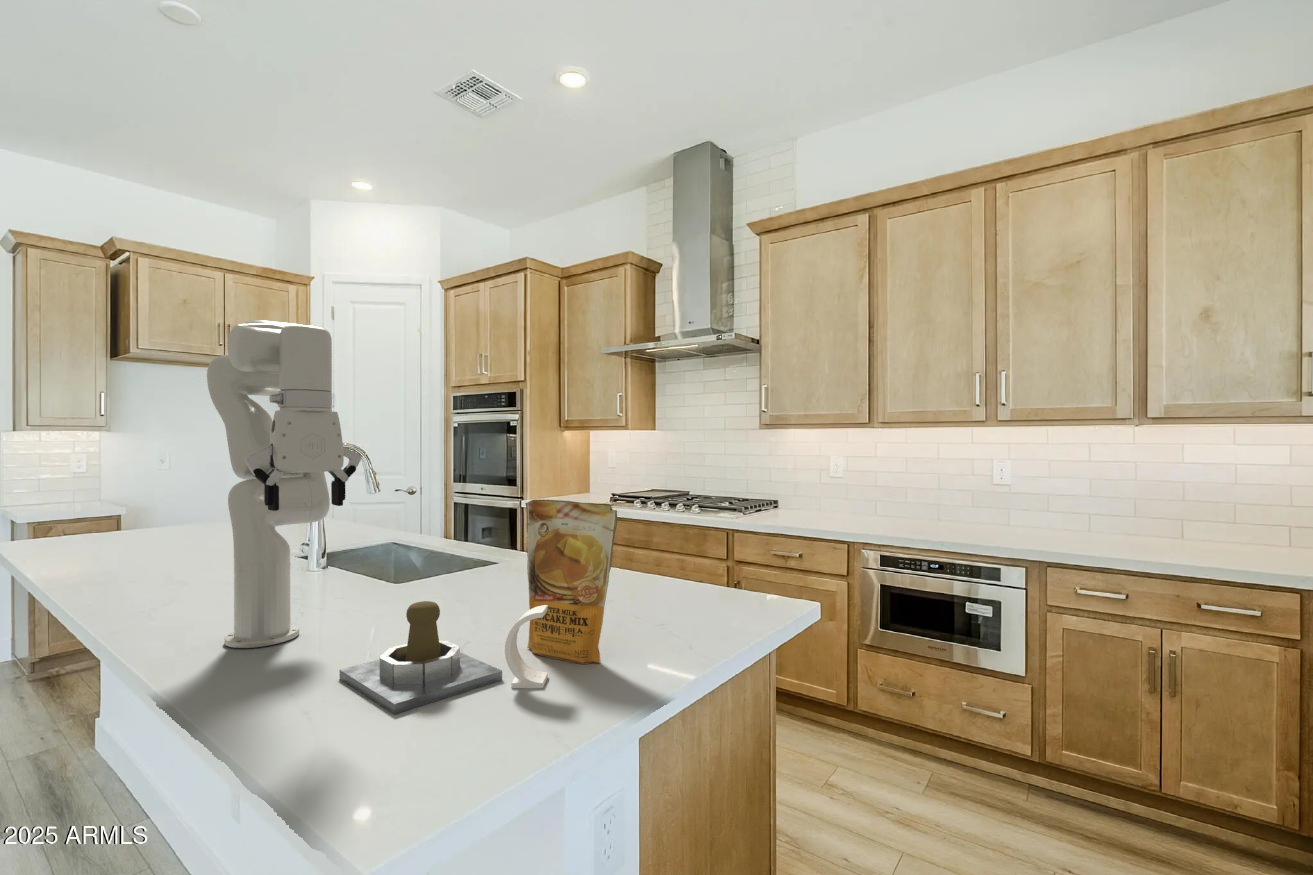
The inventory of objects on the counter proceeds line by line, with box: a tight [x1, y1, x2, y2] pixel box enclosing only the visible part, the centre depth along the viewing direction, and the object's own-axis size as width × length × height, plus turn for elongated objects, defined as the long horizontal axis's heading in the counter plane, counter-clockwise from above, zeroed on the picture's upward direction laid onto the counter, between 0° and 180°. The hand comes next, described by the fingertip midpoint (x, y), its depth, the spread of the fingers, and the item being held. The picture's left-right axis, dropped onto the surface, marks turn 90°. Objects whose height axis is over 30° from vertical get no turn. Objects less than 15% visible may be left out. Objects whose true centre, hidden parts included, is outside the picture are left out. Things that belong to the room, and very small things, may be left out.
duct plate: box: [339, 640, 503, 715], centre depth 106 cm, size 20×18×4 cm
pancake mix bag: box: [525, 499, 618, 665], centre depth 118 cm, size 7×19×28 cm, turn 61°
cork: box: [405, 600, 441, 662], centre depth 106 cm, size 6×6×11 cm
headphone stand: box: [504, 605, 549, 689], centre depth 104 cm, size 5×6×12 cm
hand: (306, 507), depth 105 cm, fingers open, 9 cm apart
